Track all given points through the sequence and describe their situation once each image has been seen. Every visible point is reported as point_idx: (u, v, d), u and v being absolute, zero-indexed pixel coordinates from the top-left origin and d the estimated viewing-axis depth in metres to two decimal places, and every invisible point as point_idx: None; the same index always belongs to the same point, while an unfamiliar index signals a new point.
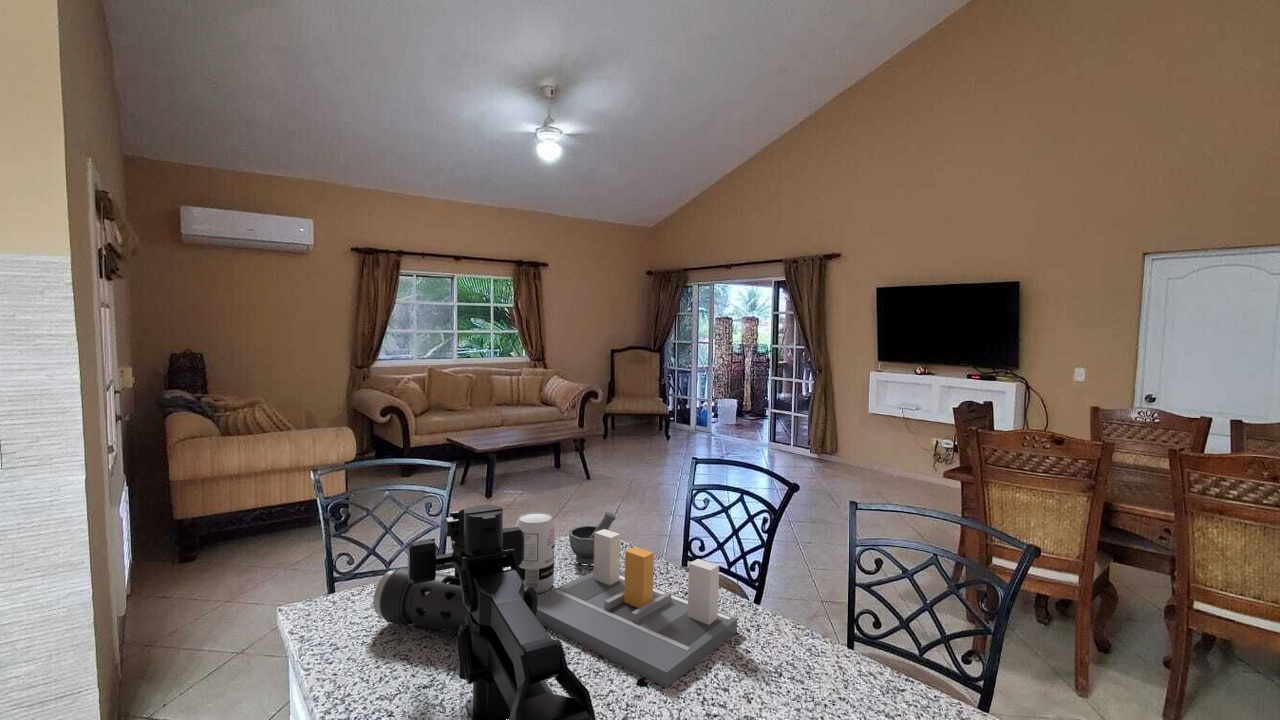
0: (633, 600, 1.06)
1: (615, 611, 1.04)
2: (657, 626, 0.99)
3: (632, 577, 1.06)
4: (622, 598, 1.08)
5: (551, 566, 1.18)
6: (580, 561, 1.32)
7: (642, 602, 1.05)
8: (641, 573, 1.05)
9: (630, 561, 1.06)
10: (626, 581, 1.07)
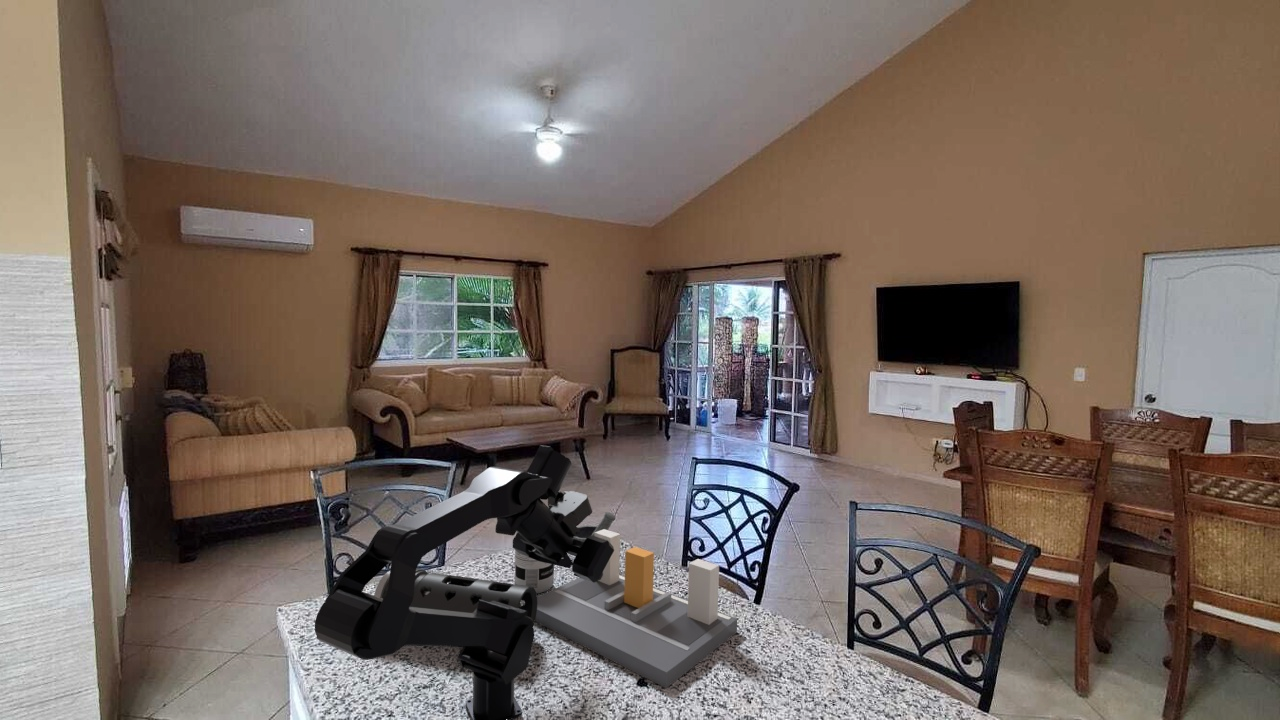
0: (633, 600, 1.06)
1: (615, 611, 1.04)
2: (657, 626, 0.99)
3: (632, 577, 1.06)
4: (622, 598, 1.08)
5: (551, 566, 1.18)
6: None
7: (642, 602, 1.05)
8: (641, 573, 1.05)
9: (630, 561, 1.06)
10: (626, 581, 1.07)
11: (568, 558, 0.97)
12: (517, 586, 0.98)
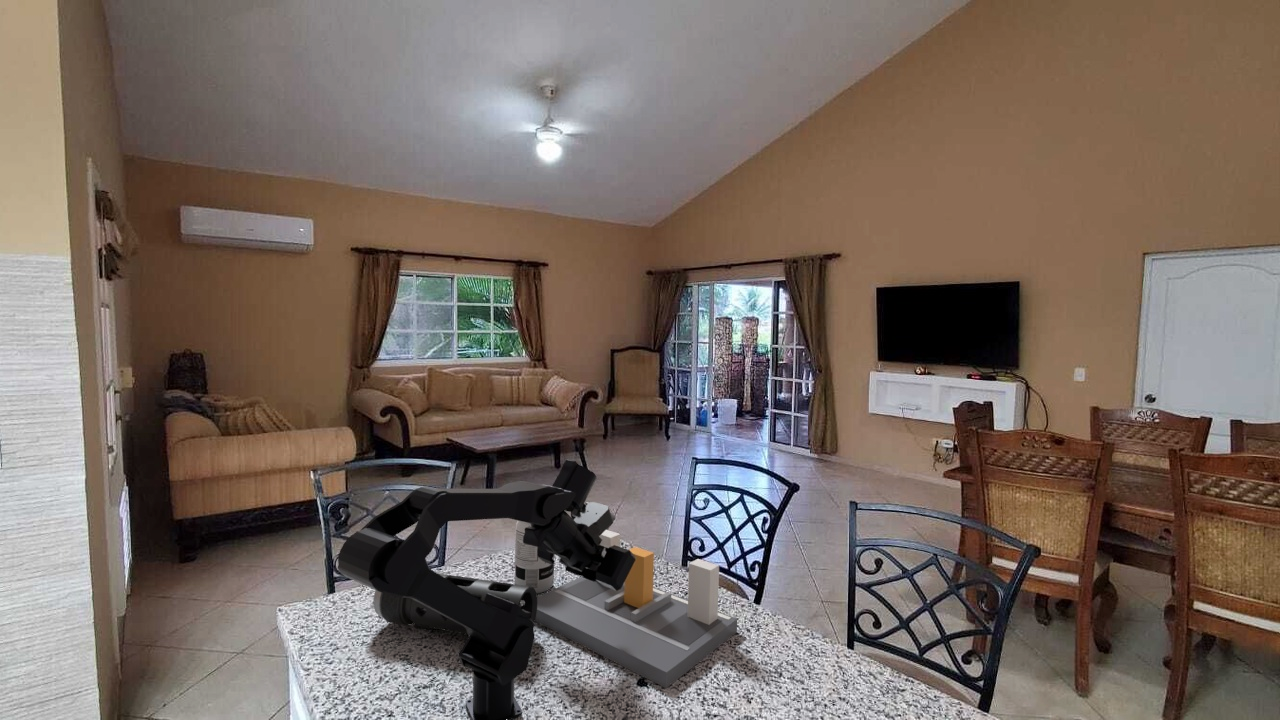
0: (633, 600, 1.06)
1: (615, 611, 1.04)
2: (657, 626, 0.99)
3: (632, 577, 1.06)
4: (622, 598, 1.08)
5: (551, 566, 1.18)
6: None
7: (642, 602, 1.05)
8: (641, 573, 1.05)
9: None
10: (626, 581, 1.07)
11: None
12: (517, 586, 0.98)
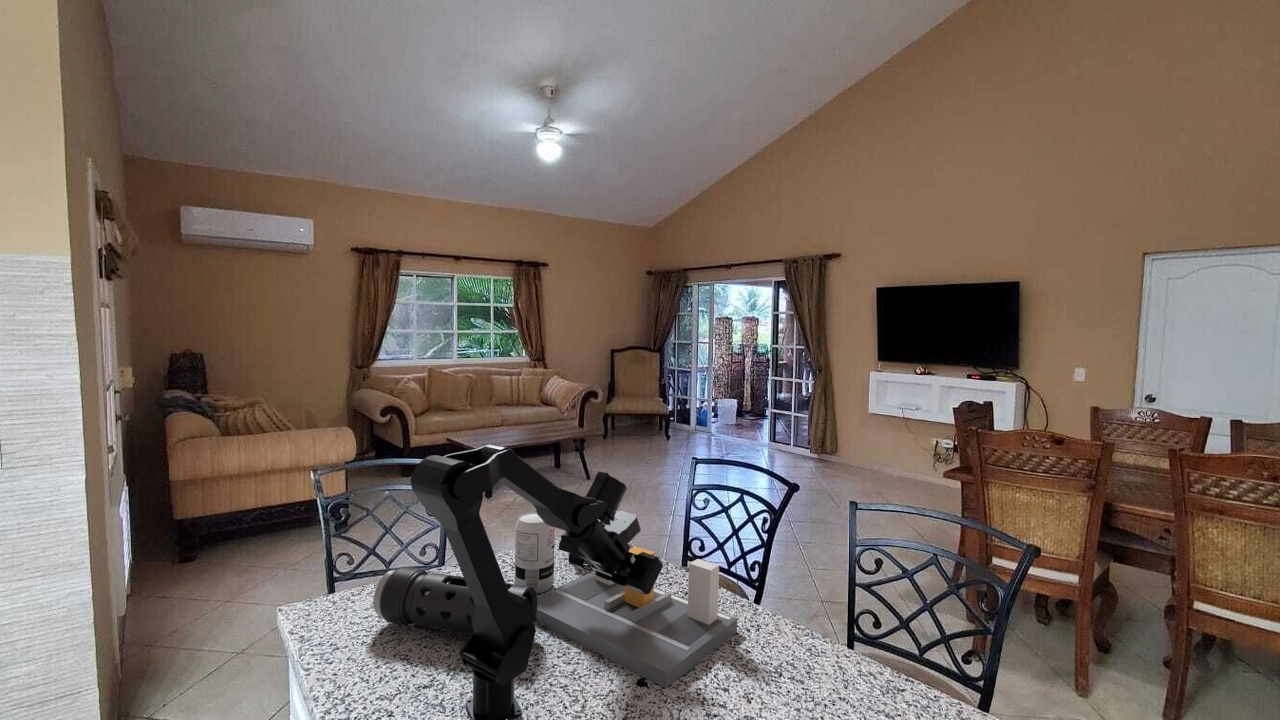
0: (634, 600, 1.06)
1: (615, 611, 1.04)
2: (657, 626, 0.99)
3: None
4: (622, 598, 1.08)
5: (551, 566, 1.18)
6: None
7: (642, 602, 1.05)
8: None
9: None
10: None
11: None
12: (517, 586, 0.98)
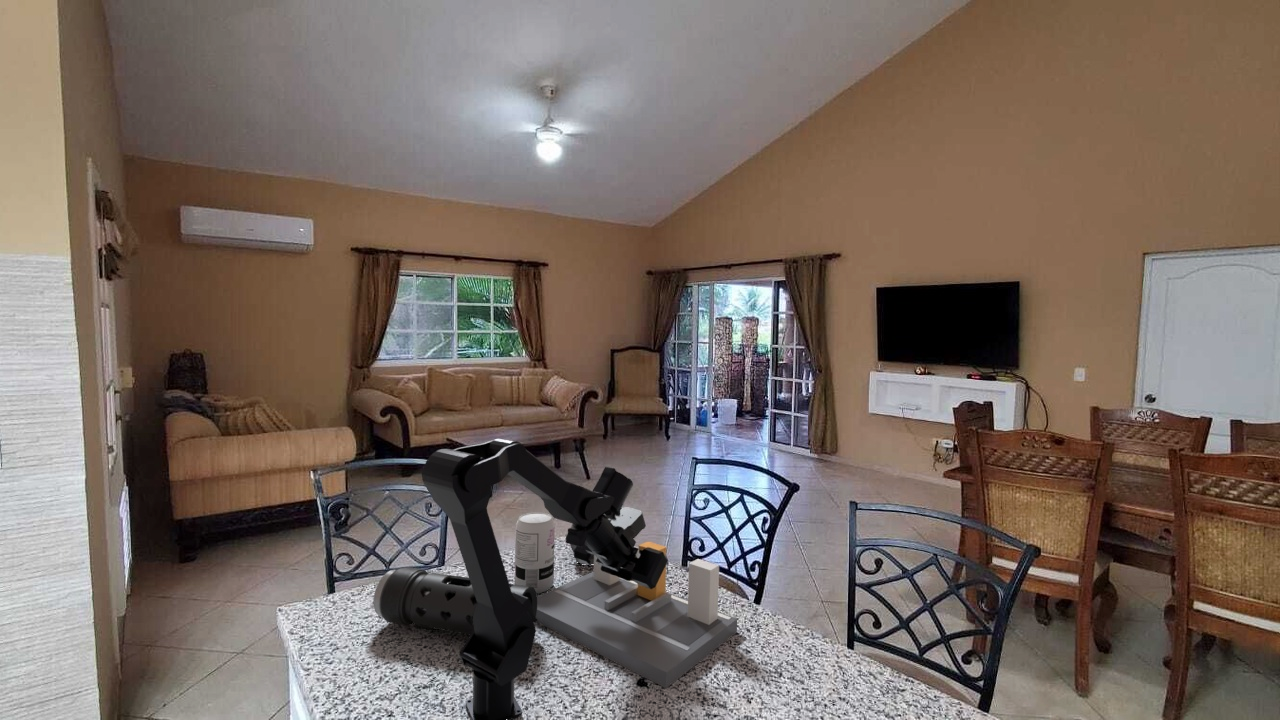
0: (646, 593, 1.09)
1: (615, 611, 1.04)
2: (657, 626, 0.99)
3: None
4: (622, 598, 1.08)
5: (551, 566, 1.18)
6: None
7: (655, 595, 1.08)
8: None
9: None
10: None
11: None
12: (517, 586, 0.98)
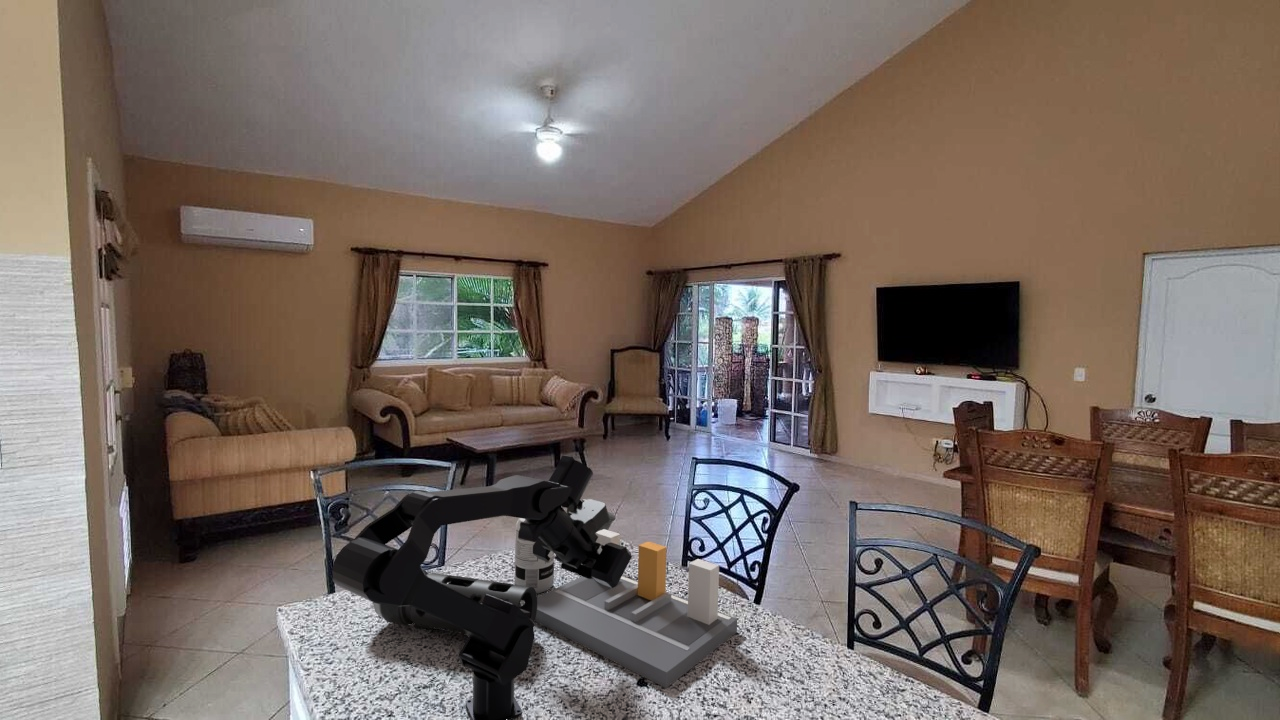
0: (646, 593, 1.09)
1: (615, 611, 1.04)
2: (657, 626, 0.99)
3: (645, 570, 1.09)
4: (622, 598, 1.08)
5: (551, 566, 1.18)
6: None
7: (655, 595, 1.08)
8: (655, 566, 1.08)
9: (643, 555, 1.09)
10: (639, 574, 1.10)
11: None
12: (517, 586, 0.97)
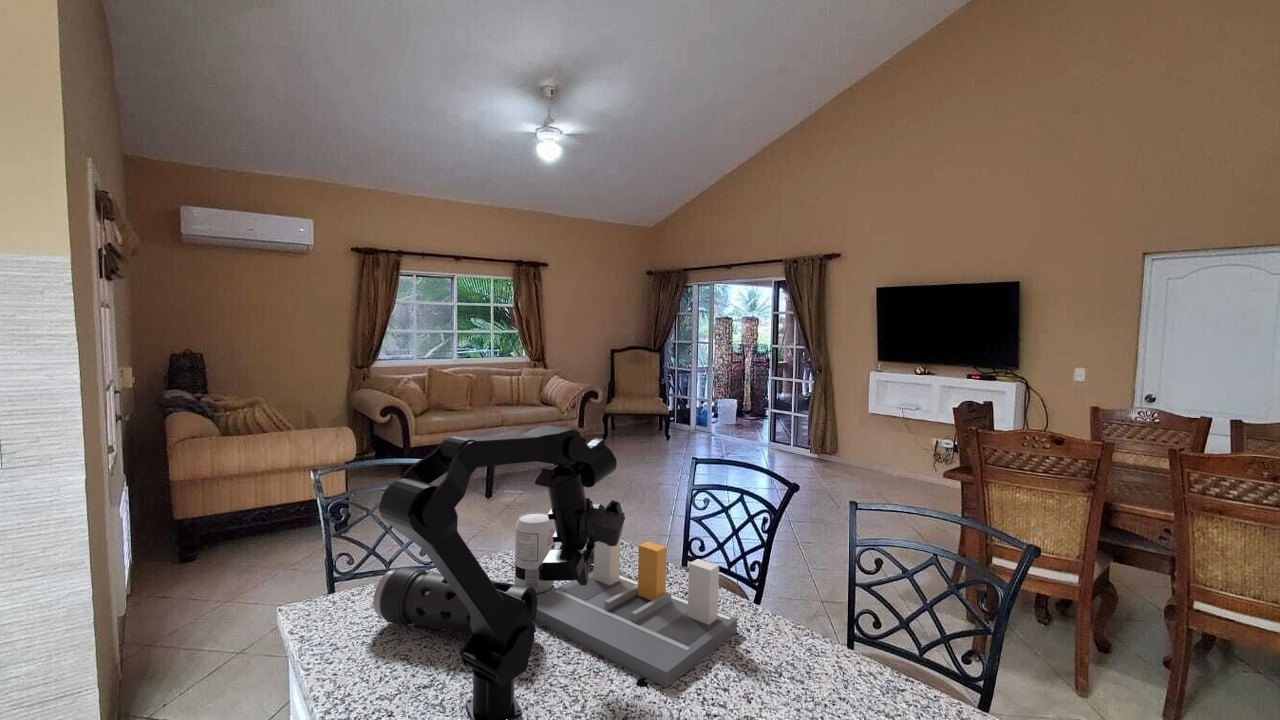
0: (646, 593, 1.09)
1: (615, 611, 1.04)
2: (657, 626, 0.99)
3: (645, 570, 1.09)
4: (622, 598, 1.08)
5: None
6: None
7: (655, 595, 1.08)
8: (655, 566, 1.08)
9: (643, 555, 1.09)
10: (639, 574, 1.10)
11: None
12: (517, 586, 0.98)
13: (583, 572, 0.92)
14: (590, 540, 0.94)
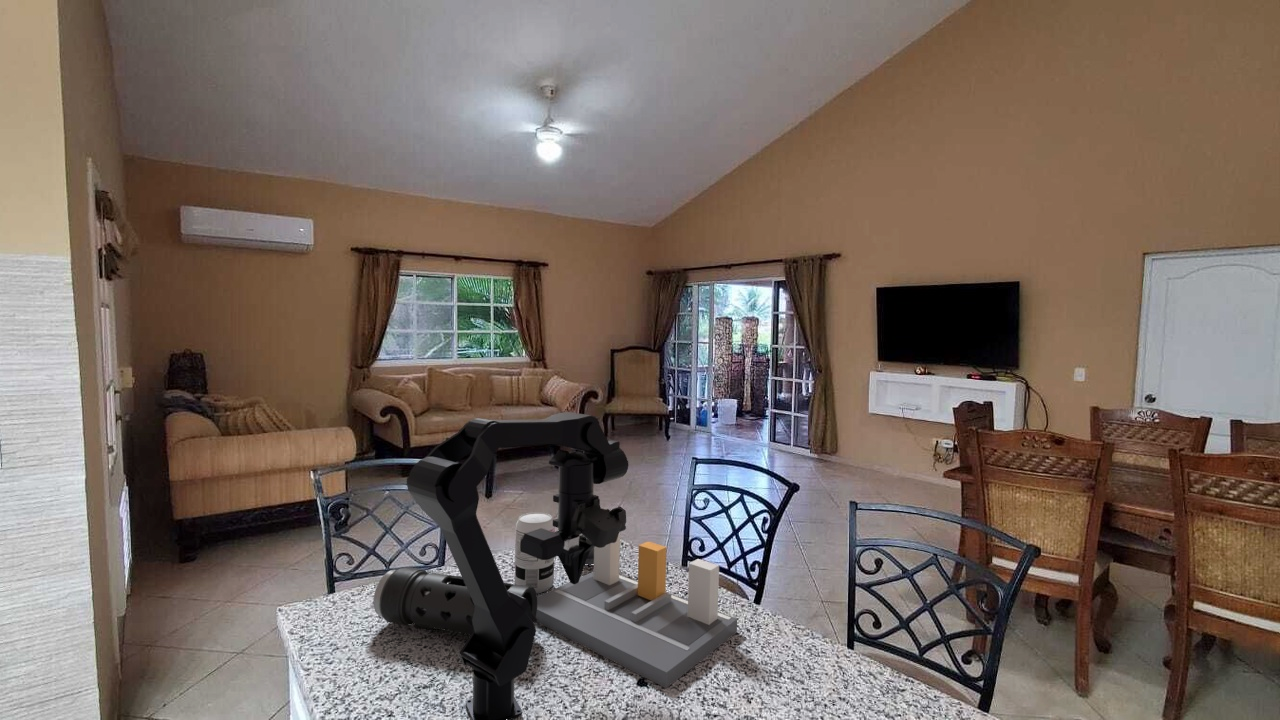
0: (646, 593, 1.09)
1: (615, 611, 1.04)
2: (657, 626, 0.99)
3: (645, 570, 1.09)
4: (622, 598, 1.08)
5: (551, 566, 1.18)
6: None
7: (655, 595, 1.08)
8: (655, 566, 1.08)
9: (643, 555, 1.09)
10: (639, 574, 1.10)
11: None
12: (517, 586, 0.98)
13: (572, 568, 0.90)
14: (591, 540, 0.92)
